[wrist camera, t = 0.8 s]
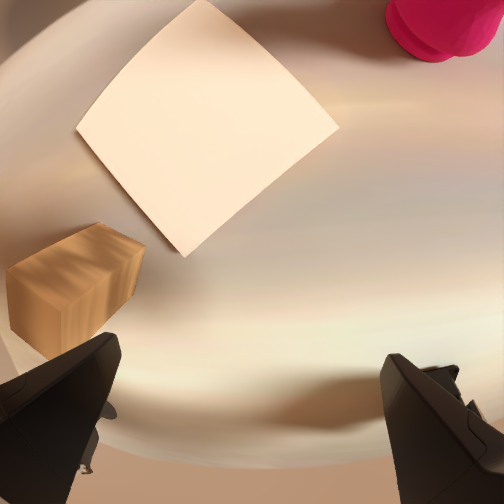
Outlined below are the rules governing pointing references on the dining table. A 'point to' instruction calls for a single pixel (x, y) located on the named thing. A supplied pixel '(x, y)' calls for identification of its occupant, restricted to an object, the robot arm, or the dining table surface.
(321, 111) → the plate
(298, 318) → the dining table surface
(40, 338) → the oak block
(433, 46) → the pepper mill
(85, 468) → the sundae
